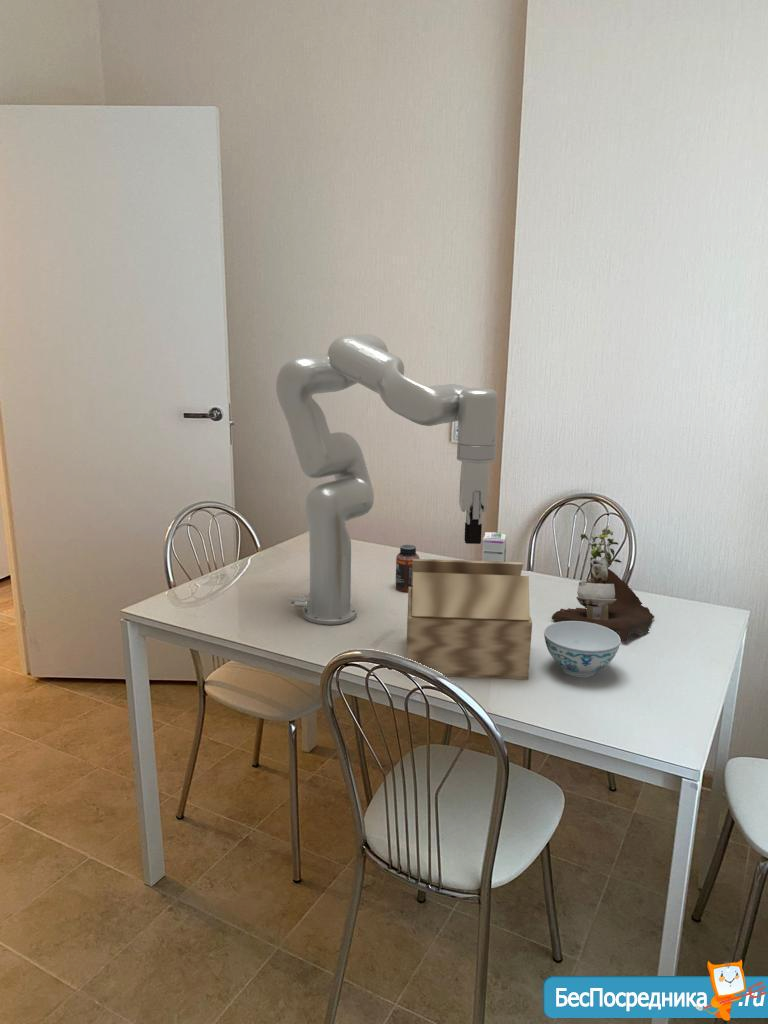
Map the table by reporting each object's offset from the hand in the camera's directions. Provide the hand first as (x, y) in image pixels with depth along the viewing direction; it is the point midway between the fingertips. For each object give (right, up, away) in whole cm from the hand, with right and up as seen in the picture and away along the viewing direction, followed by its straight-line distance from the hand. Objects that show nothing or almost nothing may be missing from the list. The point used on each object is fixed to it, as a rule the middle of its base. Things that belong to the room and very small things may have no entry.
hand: (472, 542), depth 166 cm
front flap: (-1, -10, -4) cm, 11 cm away
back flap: (0, -7, +9) cm, 11 cm away
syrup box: (+10, -14, +48) cm, 51 cm away
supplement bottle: (-12, -14, +47) cm, 50 cm away
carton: (-1, -24, +7) cm, 25 cm away
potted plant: (+35, -20, +29) cm, 49 cm away
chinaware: (+22, -26, +2) cm, 34 cm away
